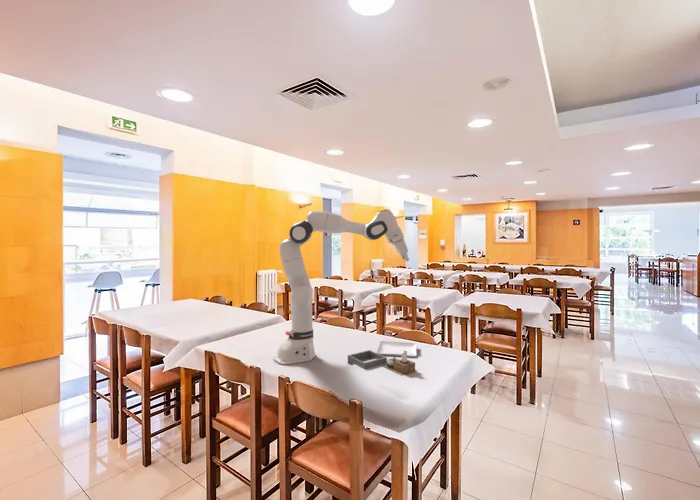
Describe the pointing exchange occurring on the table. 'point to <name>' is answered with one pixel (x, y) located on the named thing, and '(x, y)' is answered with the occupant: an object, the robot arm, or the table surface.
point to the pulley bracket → (400, 366)
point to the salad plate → (396, 348)
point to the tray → (366, 359)
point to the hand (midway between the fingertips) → (406, 259)
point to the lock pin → (404, 357)
